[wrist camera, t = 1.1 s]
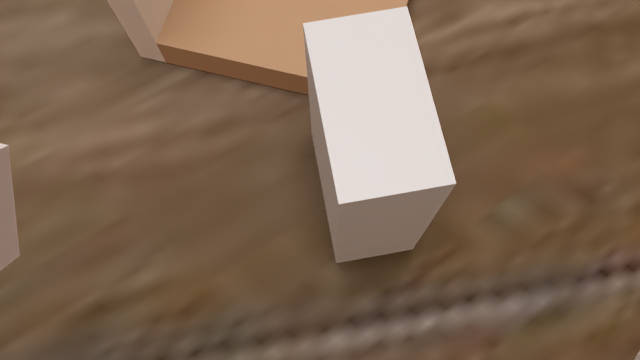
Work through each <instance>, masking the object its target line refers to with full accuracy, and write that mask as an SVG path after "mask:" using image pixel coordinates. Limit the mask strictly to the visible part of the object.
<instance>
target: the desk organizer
mask: <svg viewBox="0 0 640 360" xmlns="http://www.w3.org/2000/svg"><path fill="white" fill-rule="evenodd" d="M107 2H108V3H109V5H110V7H111V8H112V10H113V12H114V13H115V15H116V16H117V18H118V20H119V21H120V23H121V25H122V26H123V28H124V30H125V31H126V33H127V35H128V36H129V38H130V40H131V41H132V43H133V45H134V46H135V48H136V50H137V51H138V53H139V55H140V56H141V57H144V58H149V59H153V60H157V61H162V62H166V63H170V64H175V65H179V66H184V67H188V68H192V69H197V70H201V71H205V72H210V73H214V74H218V75H223V76H227V77H232V78H236V79H240V80H245V81H249V82H253V83H258V84H262V85H267V86H271V87H275V88H280V89H284V90H288V91H293V92H297V93H302V94H306V95H309V93H308V81H307V68H306V56H305V44H304V32H303V23H307V22H313V21H320V20H326V19H332V18H338V17H344V16H350V15H356V14H363V13H369V12H375V11H381V10H387V9H393V8H399V7H406V6H408V2H409V0H107Z"/></svg>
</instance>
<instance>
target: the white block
mask: <svg viewBox="0 0 640 360" xmlns="http://www.w3.org/2000/svg"><path fill="white" fill-rule="evenodd" d="M303 32H304V44H305V56H306V68H307V81H308V93H309V105H310V117H311V130H312V139H313V144H314V149H315V154H316V160H317V165H318V170H319V176H320V181H321V186H322V191H323V197H324V202H325V207H326V213H327V218H328V223H329V228H330V234H331V239H332V244H333V250H334V255H335V260H336V263H341V262H346V261H352V260H357V259H363V258H368V257H374V256H379V255H385V254H390V253H396V252H401V251H407V250H413V248H414V247H415V245H416V244H417V242H418V241H419V239H420V238H421V236H422V235H423V233H424V232H425V230H426V229H427V227H428V226H429V224H430V223H431V221H432V220H433V218H434V217H435V215H436V214H437V212H438V210H439V209H440V207H441V206H442V204H443V203H444V201H445V200H446V198H447V197H448V195H449V194H450V192H451V191H452V189H453V188H454V186H455V185H456V181H455V177H454V174H453V170H452V166H451V163H450V159H449V155H448V152H447V148H446V145H445V141H444V137H443V134H442V130H441V127H440V123H439V119H438V116H437V112H436V108H435V105H434V101H433V98H432V94H431V90H430V87H429V83H428V79H427V76H426V72H425V69H424V65H423V61H422V58H421V54H420V51H419V47H418V43H417V40H416V36H415V32H414V29H413V25H412V22H411V18H410V14H409V11H408V7H407V6H406V7H399V8H393V9H387V10H381V11H375V12H369V13H363V14H356V15H350V16H344V17H338V18H332V19H326V20H320V21H313V22H307V23H303Z"/></svg>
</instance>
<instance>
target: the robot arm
mask: <svg viewBox="0 0 640 360" xmlns="http://www.w3.org/2000/svg"><path fill="white" fill-rule="evenodd" d="M19 256H20V252H19V242H18V232H17V223H16V213H15V203H14V194H13V184H12V174H11V165H10V155H9V145H5V144H1V143H0V271H1V270H2V269H3V268H5V267H6V266H7V265H9V264H10V263H11V262H12V261H14V260H15V259H16V258H17V257H19ZM635 360H640V351H639V353H638V354H637V356H636V358H635Z"/></svg>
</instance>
